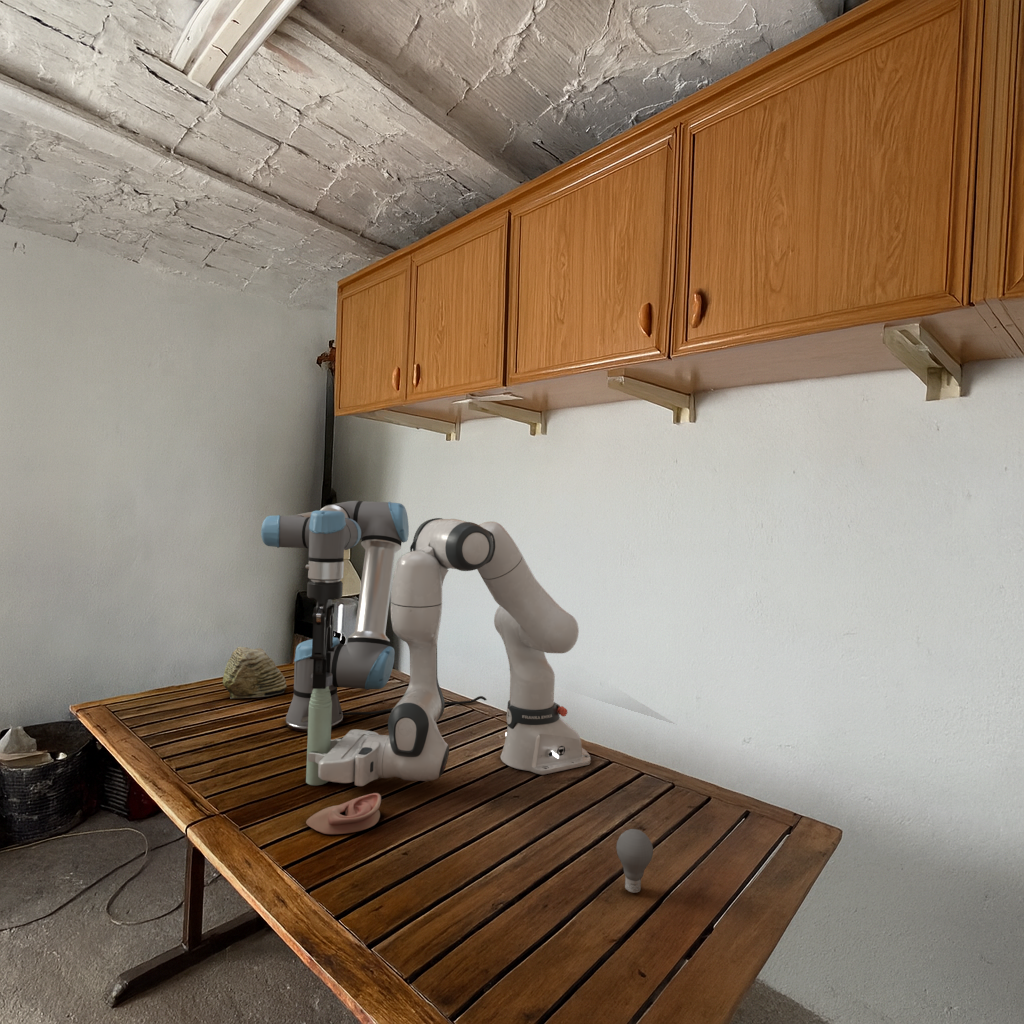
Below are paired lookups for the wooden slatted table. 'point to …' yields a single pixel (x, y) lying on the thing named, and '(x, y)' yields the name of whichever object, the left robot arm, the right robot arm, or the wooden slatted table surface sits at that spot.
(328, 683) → the cap
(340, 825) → the anatomical model
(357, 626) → the left robot arm
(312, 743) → the bottle
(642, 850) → the light bulb
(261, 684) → the fossil
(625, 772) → the wooden slatted table surface
